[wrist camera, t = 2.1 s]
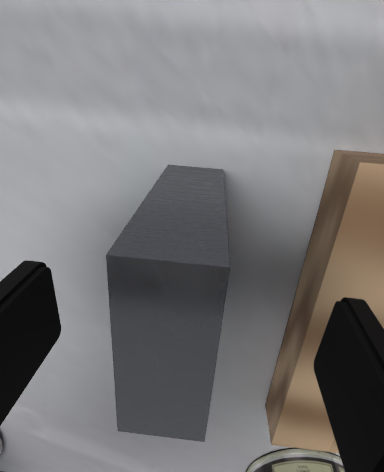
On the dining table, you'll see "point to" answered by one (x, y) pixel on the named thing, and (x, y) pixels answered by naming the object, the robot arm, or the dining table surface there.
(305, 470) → the coffee can
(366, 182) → the wooden slotted base
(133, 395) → the tall grey upright slab
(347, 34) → the dining table surface
